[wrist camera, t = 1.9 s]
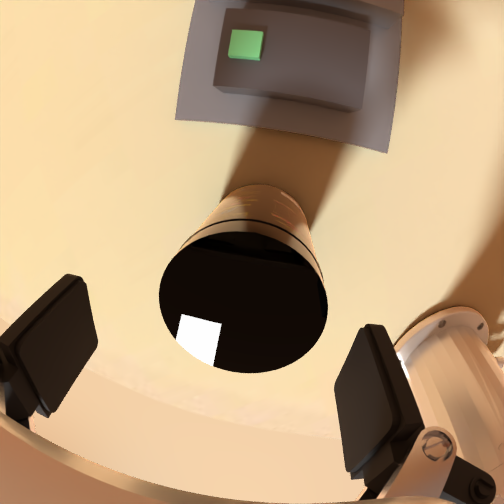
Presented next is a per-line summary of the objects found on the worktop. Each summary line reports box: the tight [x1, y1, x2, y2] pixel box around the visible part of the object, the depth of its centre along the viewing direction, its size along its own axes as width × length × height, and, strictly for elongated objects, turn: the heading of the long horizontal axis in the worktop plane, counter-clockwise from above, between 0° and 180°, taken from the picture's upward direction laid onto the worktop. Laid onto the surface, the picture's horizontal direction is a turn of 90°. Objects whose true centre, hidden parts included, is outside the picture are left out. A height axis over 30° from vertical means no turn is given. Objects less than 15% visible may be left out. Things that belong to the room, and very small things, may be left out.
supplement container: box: [159, 184, 328, 373], centre depth 16 cm, size 7×7×10 cm
